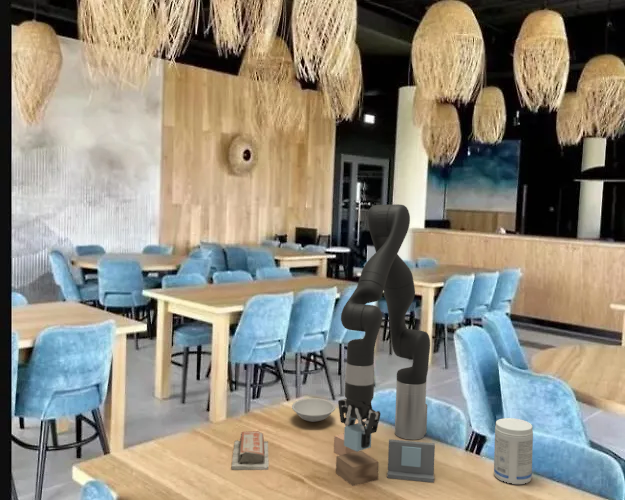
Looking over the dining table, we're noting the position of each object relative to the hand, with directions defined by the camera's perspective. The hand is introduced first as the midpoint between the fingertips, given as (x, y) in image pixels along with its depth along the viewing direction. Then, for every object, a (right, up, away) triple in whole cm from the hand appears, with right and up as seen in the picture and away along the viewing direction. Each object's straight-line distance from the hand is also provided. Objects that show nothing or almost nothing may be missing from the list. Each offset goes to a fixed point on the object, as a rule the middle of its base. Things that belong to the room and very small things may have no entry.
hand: (357, 443), depth 158 cm
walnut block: (0, -9, +1) cm, 9 cm away
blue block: (0, -1, 0) cm, 1 cm away
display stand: (+14, -9, +2) cm, 17 cm away
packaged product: (-29, -8, +12) cm, 33 cm away
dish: (-12, -6, +42) cm, 44 cm away
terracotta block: (-2, -8, +16) cm, 18 cm away
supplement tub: (+41, -10, +2) cm, 42 cm away
